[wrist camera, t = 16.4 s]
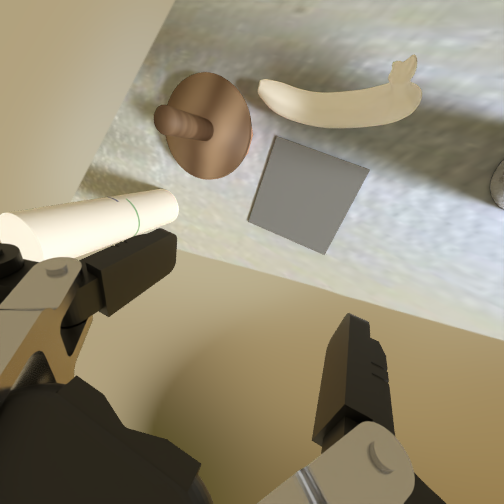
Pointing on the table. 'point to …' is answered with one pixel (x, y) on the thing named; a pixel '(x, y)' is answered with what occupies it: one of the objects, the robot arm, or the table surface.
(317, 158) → the rubber mat
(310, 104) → the banana
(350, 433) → the robot arm
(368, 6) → the table surface
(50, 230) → the cylindrical container
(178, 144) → the walnut lid
